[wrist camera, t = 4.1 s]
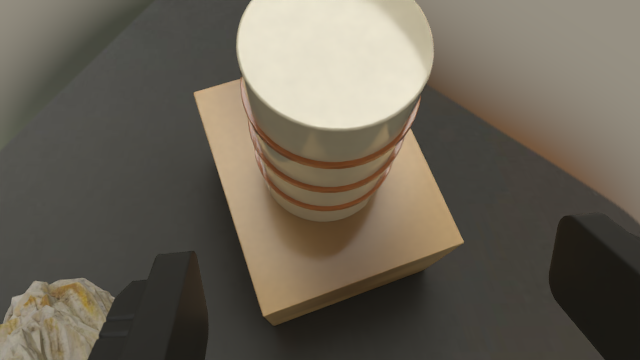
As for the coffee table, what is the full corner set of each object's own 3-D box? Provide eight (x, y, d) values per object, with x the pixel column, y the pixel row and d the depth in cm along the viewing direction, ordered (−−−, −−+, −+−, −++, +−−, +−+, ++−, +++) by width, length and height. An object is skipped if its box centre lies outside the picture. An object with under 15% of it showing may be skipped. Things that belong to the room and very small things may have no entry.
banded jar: (358, 93, 25) (391, -61, 16) (405, 200, 23) (475, 98, 14) (243, 128, 24) (206, -13, 15) (282, 243, 22) (268, 164, 13)
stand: (354, 110, 34) (370, 40, 26) (424, 270, 30) (464, 242, 23) (218, 152, 32) (192, 92, 25) (273, 326, 29) (263, 316, 21)
